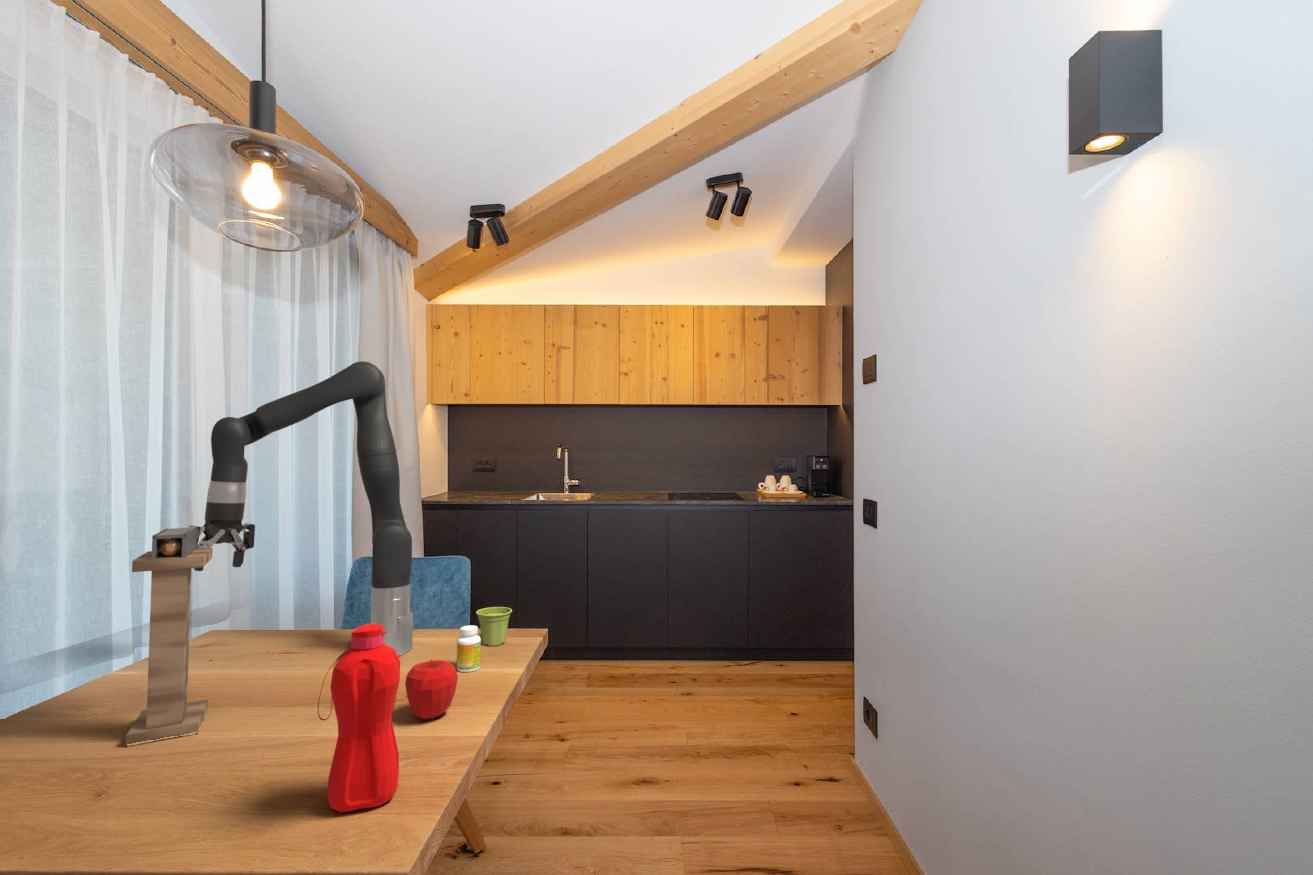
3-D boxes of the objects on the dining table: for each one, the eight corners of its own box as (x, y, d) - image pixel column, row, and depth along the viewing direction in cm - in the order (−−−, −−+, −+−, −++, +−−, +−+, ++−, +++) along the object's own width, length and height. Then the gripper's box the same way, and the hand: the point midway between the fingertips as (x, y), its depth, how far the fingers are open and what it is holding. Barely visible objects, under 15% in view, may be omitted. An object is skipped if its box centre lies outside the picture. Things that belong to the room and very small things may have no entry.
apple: (439, 729, 110) (440, 669, 111) (393, 724, 112) (394, 665, 113) (466, 707, 120) (467, 652, 120) (423, 703, 122) (424, 649, 122)
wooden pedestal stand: (142, 720, 113) (148, 551, 114) (207, 709, 118) (212, 547, 120) (125, 747, 103) (132, 560, 104) (198, 733, 108) (203, 556, 109)
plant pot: (473, 640, 164) (473, 608, 165) (508, 636, 168) (508, 605, 169) (478, 650, 156) (479, 616, 156) (514, 645, 160) (515, 612, 160)
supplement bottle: (476, 672, 139) (476, 630, 140) (453, 672, 140) (453, 630, 140) (483, 664, 145) (483, 624, 145) (461, 664, 145) (461, 624, 145)
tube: (183, 540, 127) (184, 526, 128) (200, 539, 129) (200, 526, 129) (160, 555, 107) (160, 540, 107) (179, 554, 108) (180, 539, 108)
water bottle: (321, 788, 90) (324, 621, 91) (399, 775, 94) (402, 615, 95) (309, 823, 82) (313, 638, 83) (396, 807, 86) (399, 631, 86)
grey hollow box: (165, 550, 116) (166, 528, 116) (196, 548, 118) (196, 527, 118) (151, 559, 105) (152, 535, 106) (185, 557, 108) (186, 534, 108)
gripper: (203, 502, 135) (195, 574, 134) (266, 501, 148) (258, 567, 147) (183, 499, 138) (174, 570, 137) (246, 499, 151) (238, 563, 150)
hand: (218, 568), depth 142 cm, fingers open, 8 cm apart
